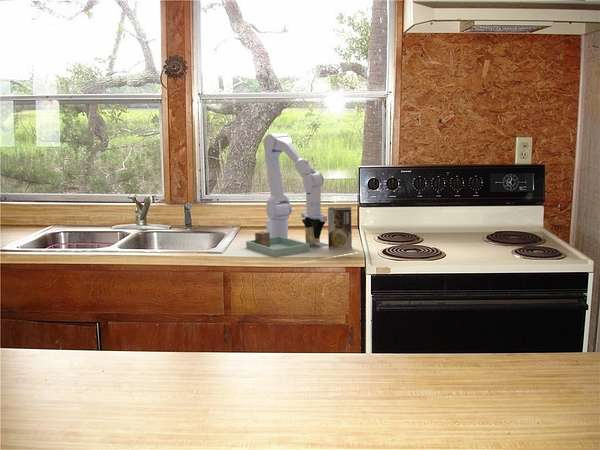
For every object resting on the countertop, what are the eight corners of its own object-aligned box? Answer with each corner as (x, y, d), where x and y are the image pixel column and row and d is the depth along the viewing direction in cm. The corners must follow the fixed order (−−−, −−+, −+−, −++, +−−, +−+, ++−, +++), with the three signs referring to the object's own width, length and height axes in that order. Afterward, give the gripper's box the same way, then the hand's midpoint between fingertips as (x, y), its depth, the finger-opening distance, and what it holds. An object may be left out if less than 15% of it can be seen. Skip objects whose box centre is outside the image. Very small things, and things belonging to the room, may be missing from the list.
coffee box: (351, 247, 254) (351, 206, 252) (351, 250, 248) (351, 209, 245) (328, 247, 255) (328, 206, 252) (327, 250, 249) (327, 209, 246)
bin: (246, 249, 253) (246, 241, 252) (280, 243, 262) (280, 236, 261) (274, 258, 237) (274, 249, 236) (309, 252, 246) (309, 244, 245)
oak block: (305, 242, 257) (305, 227, 256) (313, 241, 259) (313, 226, 258) (311, 244, 254) (311, 228, 253) (319, 242, 256) (319, 227, 255)
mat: (296, 245, 258) (296, 244, 258) (316, 242, 264) (316, 241, 264) (311, 249, 250) (311, 248, 250) (331, 246, 256) (331, 245, 256)
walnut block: (255, 247, 252) (255, 232, 251) (262, 246, 255) (262, 231, 254) (262, 249, 250) (262, 233, 249) (269, 247, 253) (269, 232, 252)
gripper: (294, 202, 258) (294, 235, 260) (316, 206, 246) (316, 241, 248) (308, 200, 262) (309, 233, 264) (331, 204, 250) (331, 239, 252)
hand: (313, 237), depth 256 cm, fingers closed on oak block, 4 cm apart
